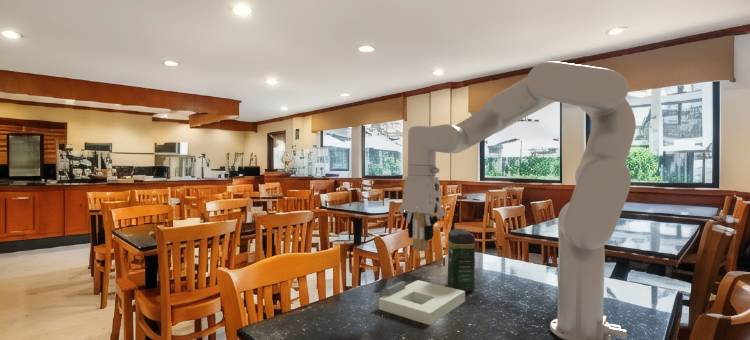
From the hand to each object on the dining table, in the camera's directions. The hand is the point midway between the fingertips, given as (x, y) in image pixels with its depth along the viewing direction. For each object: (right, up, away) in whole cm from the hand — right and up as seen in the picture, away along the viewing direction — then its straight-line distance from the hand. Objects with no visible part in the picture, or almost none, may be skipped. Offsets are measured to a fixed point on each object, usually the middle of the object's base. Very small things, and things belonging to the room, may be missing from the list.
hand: (420, 237), depth 104 cm
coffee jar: (+15, -19, +18) cm, 30 cm away
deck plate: (+1, -20, +3) cm, 20 cm away
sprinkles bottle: (0, -4, 0) cm, 4 cm away
